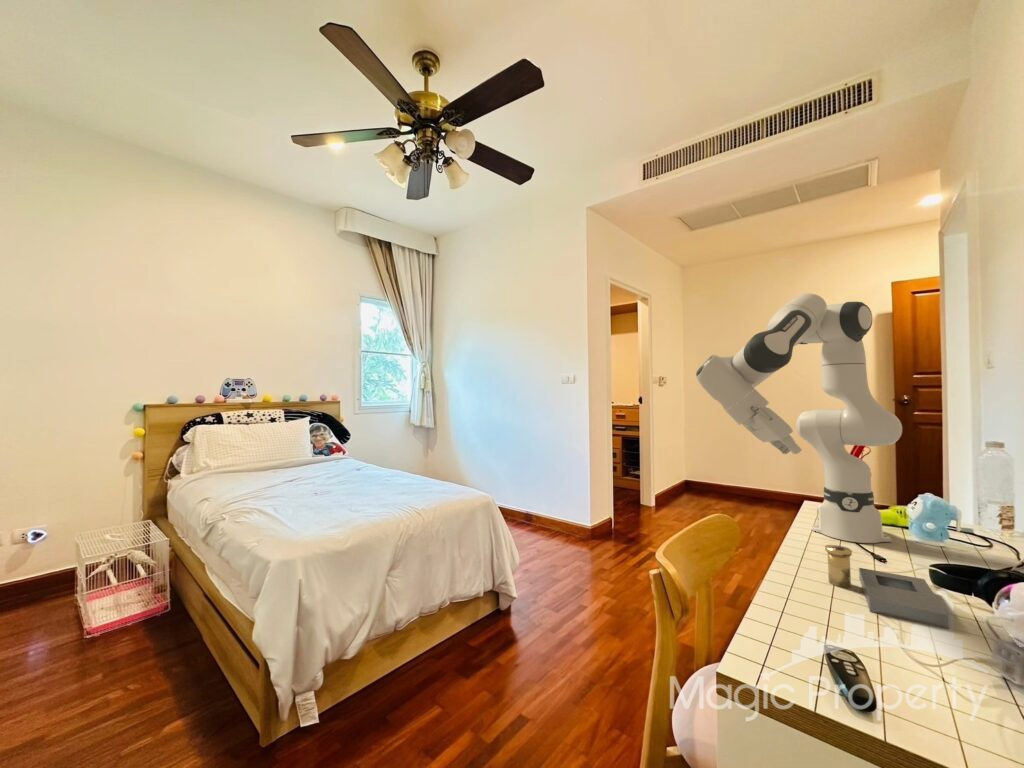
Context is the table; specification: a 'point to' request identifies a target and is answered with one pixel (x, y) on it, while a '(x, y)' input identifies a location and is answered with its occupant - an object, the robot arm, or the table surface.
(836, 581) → the bushing
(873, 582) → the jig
